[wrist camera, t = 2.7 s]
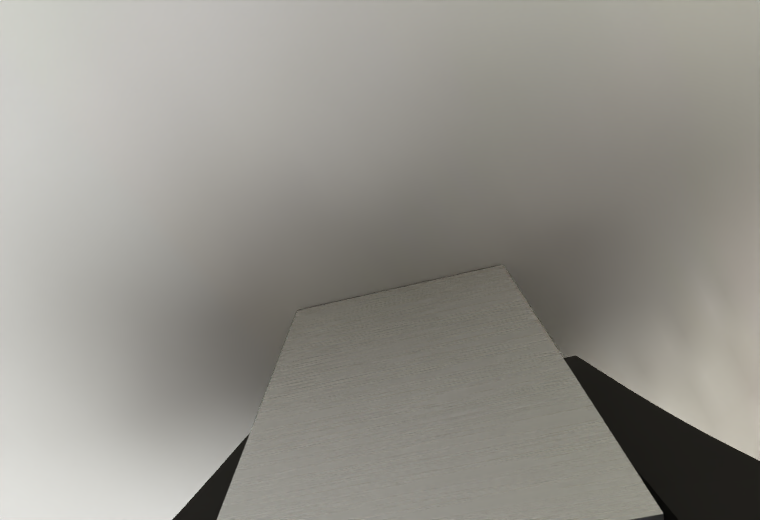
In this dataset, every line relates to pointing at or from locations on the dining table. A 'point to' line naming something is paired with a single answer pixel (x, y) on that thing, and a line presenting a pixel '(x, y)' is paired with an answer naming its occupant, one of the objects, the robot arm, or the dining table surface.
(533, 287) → the dining table surface
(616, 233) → the dining table surface
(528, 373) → the steel billet
